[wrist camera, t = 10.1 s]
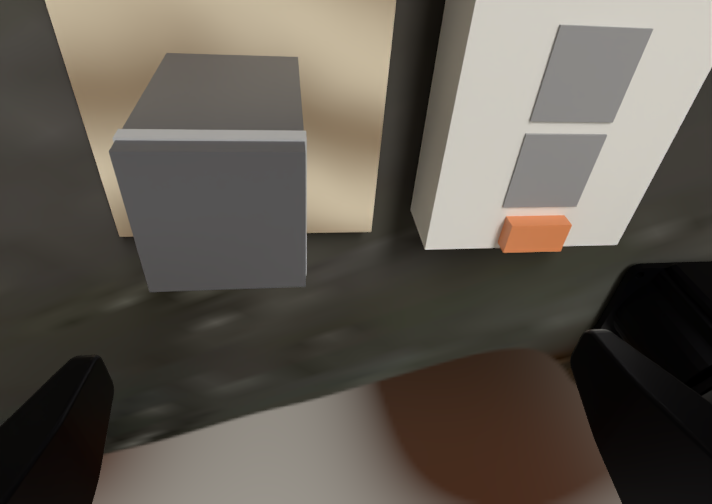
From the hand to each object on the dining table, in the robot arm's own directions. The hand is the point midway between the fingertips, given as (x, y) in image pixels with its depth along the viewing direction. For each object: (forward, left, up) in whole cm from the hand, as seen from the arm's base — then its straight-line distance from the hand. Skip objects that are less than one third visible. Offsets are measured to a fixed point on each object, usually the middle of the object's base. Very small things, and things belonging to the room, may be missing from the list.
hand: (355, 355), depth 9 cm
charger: (0, +3, -12) cm, 12 cm away
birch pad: (0, +3, -13) cm, 13 cm away
